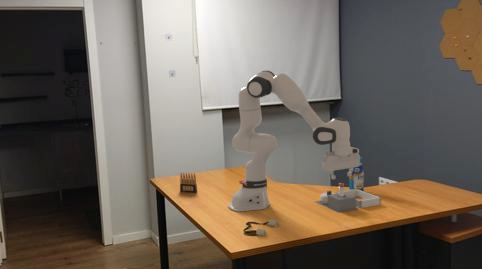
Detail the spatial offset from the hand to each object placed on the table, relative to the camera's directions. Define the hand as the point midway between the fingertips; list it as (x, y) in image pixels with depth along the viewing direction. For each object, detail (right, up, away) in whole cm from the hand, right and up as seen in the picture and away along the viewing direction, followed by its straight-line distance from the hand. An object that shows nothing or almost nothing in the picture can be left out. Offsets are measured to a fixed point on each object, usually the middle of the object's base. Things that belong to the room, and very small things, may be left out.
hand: (341, 177), depth 233 cm
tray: (+12, -15, +13) cm, 23 cm away
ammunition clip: (-82, -14, +50) cm, 97 cm away
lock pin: (+1, -16, +3) cm, 16 cm away
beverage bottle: (+17, -12, +38) cm, 44 cm away
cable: (-42, -23, -19) cm, 52 cm away
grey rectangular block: (-1, -16, +8) cm, 18 cm away
